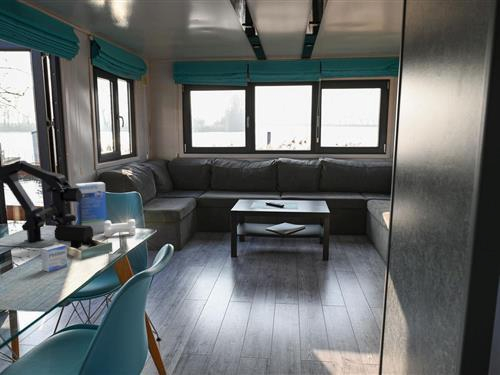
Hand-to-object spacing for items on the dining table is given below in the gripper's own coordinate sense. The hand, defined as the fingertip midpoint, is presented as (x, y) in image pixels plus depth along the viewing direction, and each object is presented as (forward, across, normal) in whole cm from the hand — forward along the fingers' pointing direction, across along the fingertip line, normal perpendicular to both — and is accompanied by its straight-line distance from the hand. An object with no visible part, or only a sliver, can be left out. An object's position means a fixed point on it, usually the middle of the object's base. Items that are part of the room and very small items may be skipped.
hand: (60, 233), depth 182 cm
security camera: (+4, +14, 0) cm, 14 cm away
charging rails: (+4, +19, 0) cm, 19 cm away
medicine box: (+4, +32, -19) cm, 37 cm away
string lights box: (+4, -4, +19) cm, 20 cm away
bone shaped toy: (+4, +11, +25) cm, 28 cm away
